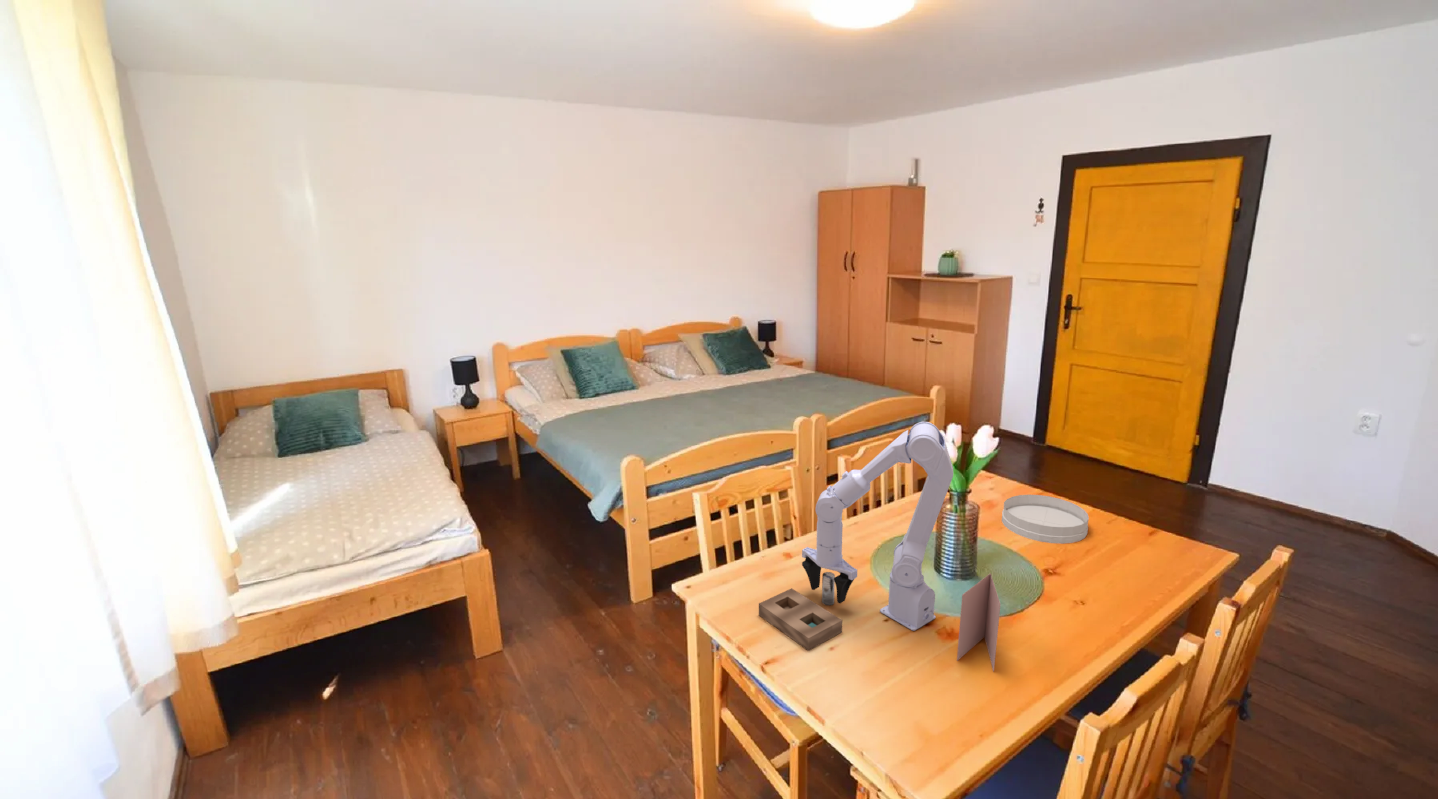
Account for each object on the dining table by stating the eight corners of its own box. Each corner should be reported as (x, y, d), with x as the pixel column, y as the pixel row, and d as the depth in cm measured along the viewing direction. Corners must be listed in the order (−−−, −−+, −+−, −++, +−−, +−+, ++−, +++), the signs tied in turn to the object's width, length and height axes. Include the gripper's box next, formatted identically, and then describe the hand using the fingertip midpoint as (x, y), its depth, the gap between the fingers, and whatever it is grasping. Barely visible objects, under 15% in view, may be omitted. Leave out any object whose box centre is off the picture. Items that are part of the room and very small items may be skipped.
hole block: (841, 632, 138) (842, 620, 138) (808, 650, 133) (808, 638, 132) (791, 599, 151) (791, 588, 150) (758, 615, 145) (758, 603, 144)
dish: (1089, 519, 187) (1091, 503, 186) (1084, 551, 169) (1087, 534, 168) (1007, 504, 199) (1009, 489, 198) (994, 532, 181) (996, 516, 180)
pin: (836, 602, 149) (837, 575, 147) (828, 606, 148) (828, 579, 146) (827, 597, 151) (828, 570, 150) (819, 601, 150) (819, 574, 148)
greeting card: (980, 634, 136) (986, 571, 132) (1015, 650, 131) (1022, 585, 127) (952, 658, 129) (958, 592, 125) (988, 677, 124) (995, 608, 120)
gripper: (866, 546, 143) (864, 600, 146) (815, 525, 153) (815, 576, 157) (846, 558, 138) (845, 613, 142) (796, 535, 149) (795, 587, 152)
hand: (828, 594), depth 149 cm, fingers open, 7 cm apart
